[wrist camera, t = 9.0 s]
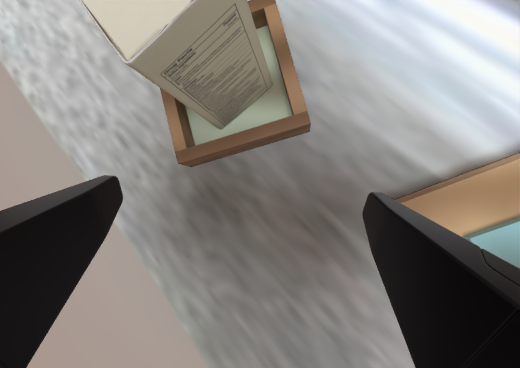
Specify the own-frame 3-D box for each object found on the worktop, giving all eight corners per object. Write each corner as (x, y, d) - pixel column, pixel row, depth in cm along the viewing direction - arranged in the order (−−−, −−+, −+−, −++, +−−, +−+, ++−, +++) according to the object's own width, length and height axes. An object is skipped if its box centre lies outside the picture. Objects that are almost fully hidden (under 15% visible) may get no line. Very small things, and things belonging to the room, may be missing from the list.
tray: (309, 131, 22) (310, 123, 19) (191, 166, 23) (178, 163, 21) (275, 14, 23) (272, -9, 20) (164, 55, 24) (148, 39, 22)
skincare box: (244, 50, 22) (179, -118, 10) (275, 85, 22) (243, -49, 10) (189, 98, 23) (68, -8, 11) (218, 134, 23) (123, 64, 10)
